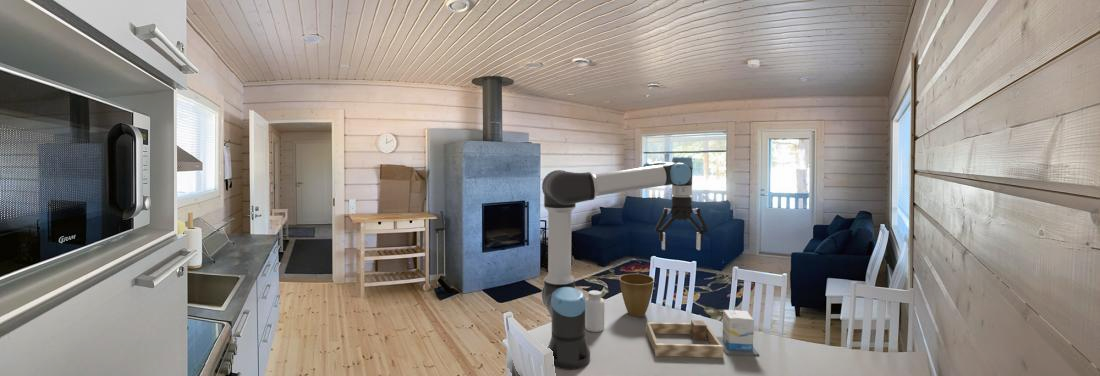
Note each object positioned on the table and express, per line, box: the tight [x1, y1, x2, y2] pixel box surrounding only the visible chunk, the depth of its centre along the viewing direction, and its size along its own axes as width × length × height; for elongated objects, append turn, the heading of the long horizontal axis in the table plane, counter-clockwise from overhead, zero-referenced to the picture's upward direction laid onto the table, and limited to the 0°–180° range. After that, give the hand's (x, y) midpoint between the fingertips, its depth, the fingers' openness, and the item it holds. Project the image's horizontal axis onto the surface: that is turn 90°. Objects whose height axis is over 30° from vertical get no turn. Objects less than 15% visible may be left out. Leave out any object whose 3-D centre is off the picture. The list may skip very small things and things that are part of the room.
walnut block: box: [690, 319, 708, 342], centre depth 156 cm, size 4×4×6 cm
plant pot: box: [619, 273, 655, 318], centre depth 179 cm, size 15×15×16 cm
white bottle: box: [585, 289, 605, 333], centre depth 165 cm, size 8×8×15 cm
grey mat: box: [716, 336, 760, 357], centre depth 149 cm, size 11×13×1 cm
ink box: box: [722, 309, 755, 351], centre depth 148 cm, size 9×8×12 cm
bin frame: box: [646, 321, 724, 359], centre depth 151 cm, size 23×19×4 cm
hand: (680, 249), depth 161 cm, fingers open, 13 cm apart
